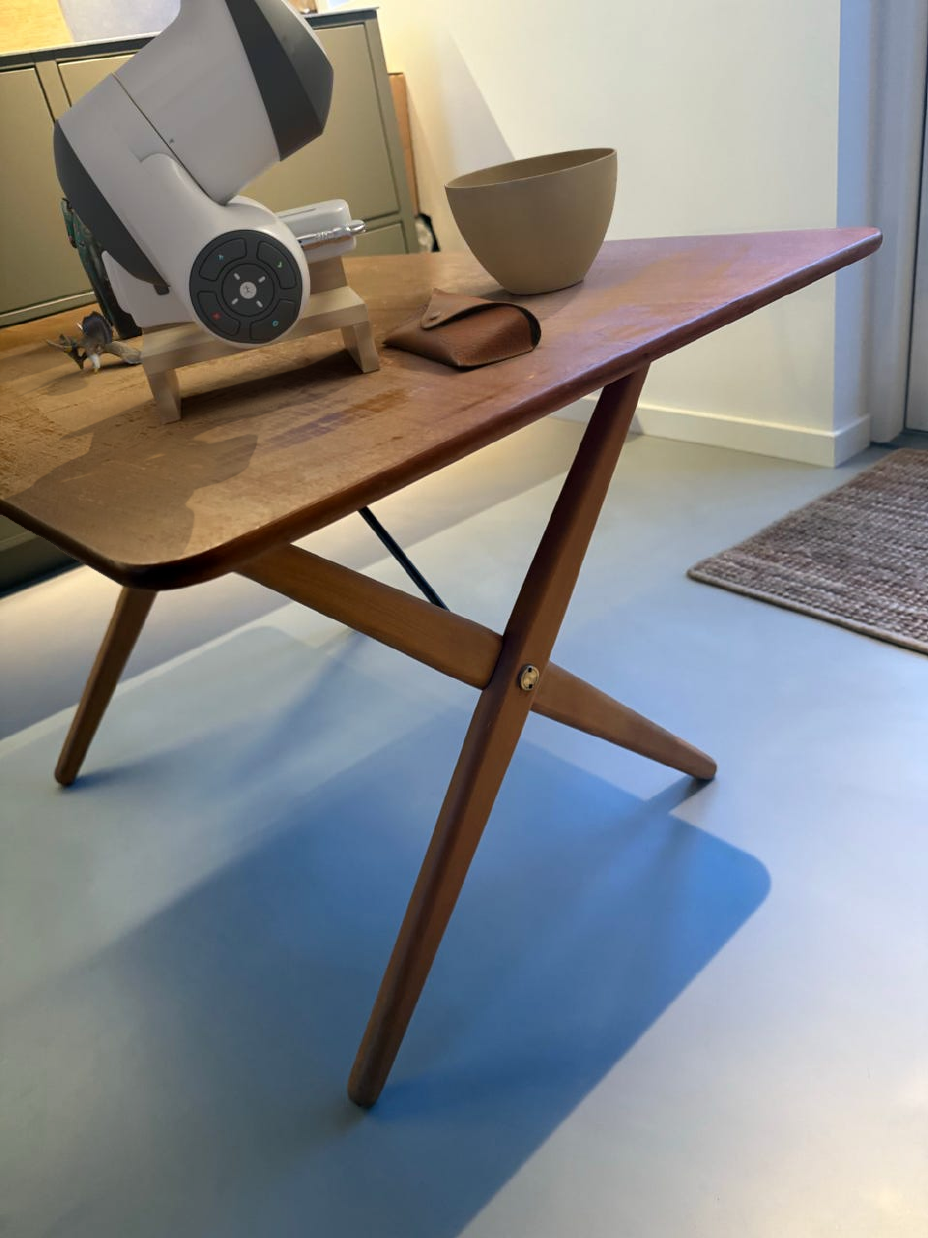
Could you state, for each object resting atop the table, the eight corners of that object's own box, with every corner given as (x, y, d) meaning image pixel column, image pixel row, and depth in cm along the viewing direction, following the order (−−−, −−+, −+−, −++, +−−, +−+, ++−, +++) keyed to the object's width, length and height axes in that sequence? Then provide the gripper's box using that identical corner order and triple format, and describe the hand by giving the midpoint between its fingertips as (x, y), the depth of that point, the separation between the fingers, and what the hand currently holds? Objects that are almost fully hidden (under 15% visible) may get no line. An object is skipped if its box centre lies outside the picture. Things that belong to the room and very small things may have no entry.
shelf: (162, 424, 88) (127, 322, 84) (165, 392, 98) (133, 300, 94) (380, 369, 90) (357, 267, 86) (360, 343, 101) (338, 252, 97)
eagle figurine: (49, 374, 111) (112, 349, 108) (39, 314, 112) (102, 287, 109) (97, 391, 118) (158, 368, 115) (88, 334, 119) (148, 310, 116)
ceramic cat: (98, 323, 144) (45, 175, 135) (142, 311, 146) (93, 164, 136) (110, 344, 127) (50, 176, 118) (160, 331, 129) (105, 165, 120)
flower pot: (441, 296, 114) (419, 183, 108) (578, 258, 119) (565, 147, 113) (506, 317, 99) (485, 187, 93) (661, 272, 104) (650, 145, 98)
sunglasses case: (373, 342, 98) (391, 273, 96) (434, 360, 102) (452, 294, 100) (461, 368, 83) (484, 288, 82) (528, 388, 87) (551, 312, 86)
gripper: (359, 183, 74) (335, 175, 86) (86, 246, 72) (100, 229, 84) (379, 270, 77) (352, 250, 89) (117, 333, 75) (126, 304, 87)
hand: (228, 240), depth 87 cm, fingers open, 8 cm apart
